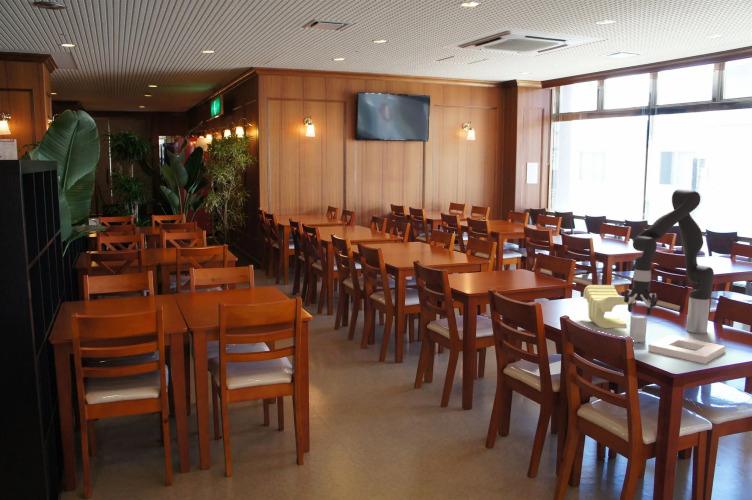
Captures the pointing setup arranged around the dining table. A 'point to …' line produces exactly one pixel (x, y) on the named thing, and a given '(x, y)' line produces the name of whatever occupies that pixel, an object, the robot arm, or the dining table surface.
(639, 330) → the skincare box
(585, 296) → the slatted curved stool
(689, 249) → the robot arm
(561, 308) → the dining table surface
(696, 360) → the white square frame
